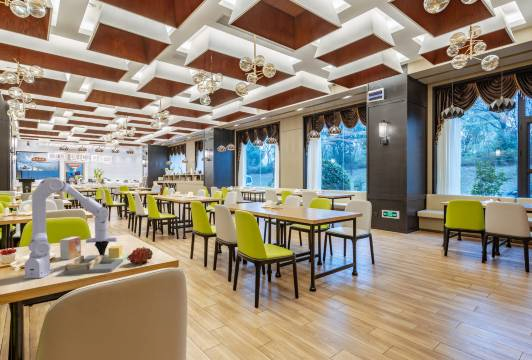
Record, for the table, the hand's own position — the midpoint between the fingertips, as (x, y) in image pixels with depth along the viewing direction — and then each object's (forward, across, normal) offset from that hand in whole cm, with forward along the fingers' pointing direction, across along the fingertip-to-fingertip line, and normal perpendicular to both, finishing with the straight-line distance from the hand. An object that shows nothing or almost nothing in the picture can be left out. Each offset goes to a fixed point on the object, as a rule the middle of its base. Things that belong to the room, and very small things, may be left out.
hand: (102, 255), depth 152 cm
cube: (+1, -6, -1) cm, 6 cm away
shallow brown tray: (+1, +3, +12) cm, 12 cm away
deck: (+2, -2, +7) cm, 8 cm away
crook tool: (+2, -15, -4) cm, 16 cm away
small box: (+3, +20, -9) cm, 22 cm away
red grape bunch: (+3, -21, +8) cm, 22 cm away
